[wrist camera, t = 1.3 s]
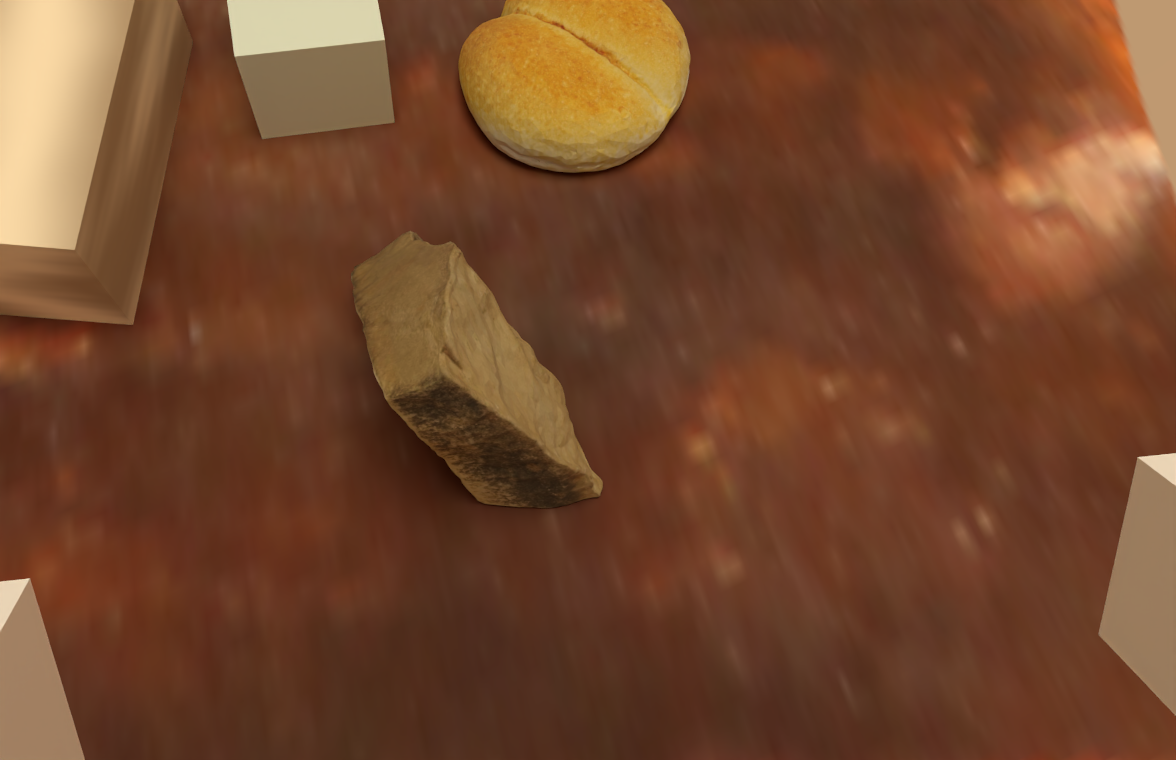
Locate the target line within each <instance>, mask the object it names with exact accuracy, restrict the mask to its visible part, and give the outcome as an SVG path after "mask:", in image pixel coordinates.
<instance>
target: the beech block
mask: <svg viewBox="0 0 1176 760" xmlns="http://www.w3.org/2000/svg"><path fill="white" fill-rule="evenodd" d="M192 45H193V41H192V38H191V35H190V33H189V30H188V28H187V25H186V22H185V20H184V17H183V15H182V12H181V9H180V7H179V4H178V2H177V0H0V315H12V316H25V317H38V318H50V319H63V320H76V321H89V322H101V323H114V324H127V325H133V322H134V317H135V313H136V308H137V303H138V299H139V294H140V289H141V285H142V280H143V275H144V270H145V266H146V261H147V256H148V252H149V247H150V242H151V238H152V233H153V228H154V223H155V219H156V214H157V209H158V205H159V200H160V195H161V191H162V186H163V181H164V176H165V172H166V167H167V162H168V158H169V153H170V148H171V143H172V139H173V134H174V129H175V125H176V120H177V115H178V111H179V106H180V101H181V96H182V92H183V87H184V82H185V78H186V73H187V68H188V64H189V59H190V54H191V49H192Z"/></svg>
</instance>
